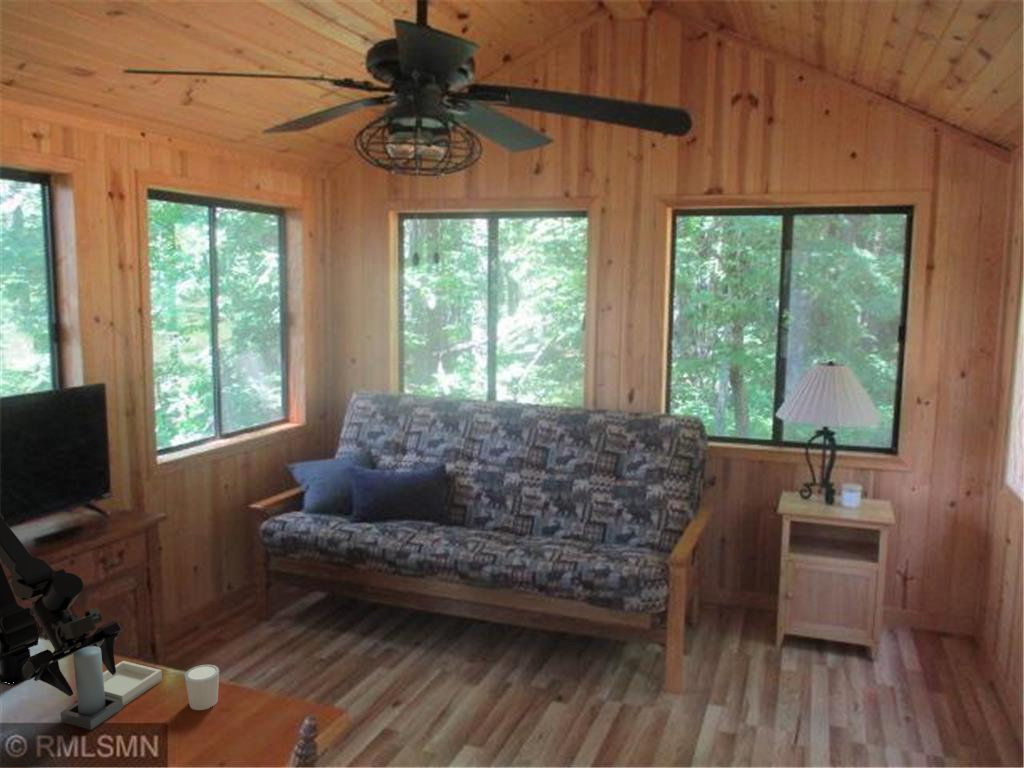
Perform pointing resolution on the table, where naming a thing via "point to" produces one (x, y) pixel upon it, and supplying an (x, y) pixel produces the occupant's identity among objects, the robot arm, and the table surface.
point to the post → (89, 680)
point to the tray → (130, 681)
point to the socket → (90, 723)
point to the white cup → (202, 686)
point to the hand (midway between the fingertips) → (93, 684)
